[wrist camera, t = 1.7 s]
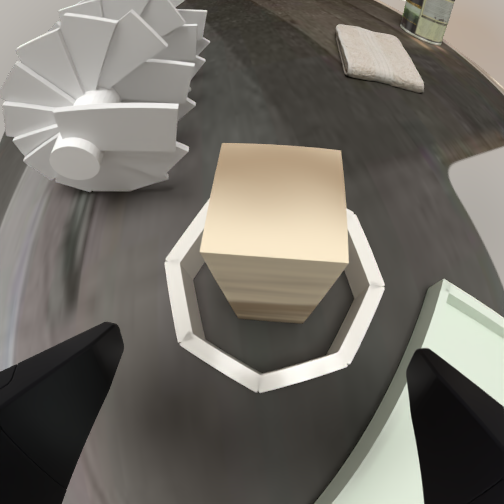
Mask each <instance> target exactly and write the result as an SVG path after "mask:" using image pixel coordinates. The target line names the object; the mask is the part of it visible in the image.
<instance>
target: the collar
mask: <svg viewBox="0 0 504 504" xmlns="http://www.w3.org/2000/svg"><path fill="white" fill-rule="evenodd" d="M209 201H210V199H209V200H208V201H207V203H206V204H205V205H204V207H203V208H202V209H201V211H200V212H199V213H198V215H197V216H196V217H195V219H194V220H193V221H192V223H191V224H190V226H189V227H188V228H187V230H186V231H185V232H184V234H183V235H182V237H181V238H180V239H179V241H178V242H177V244H176V245H175V246H174V248H173V249H172V251H171V252H170V253H169V255H168V256H167V258H166V259H165V260H166V261H167V262H165V270H166V277H167V283H168V290H169V296H170V302H171V308H172V314H173V319H174V325H175V330H176V335H177V340H178V343H180V346H182V347H183V348H185V349H186V350H188V351H189V352H191V353H192V354H194V355H195V356H197V357H198V358H200V359H201V360H203V361H205V362H206V363H208V364H209V365H211V366H212V367H214V368H216V369H217V370H219V371H220V372H222V373H224V374H225V375H227V376H229V377H230V378H232V379H234V380H235V381H237V382H239V383H240V384H242V385H244V386H245V387H247V388H249V389H251V390H252V391H254V392H257V391H258V390H259V393H262V392H266V391H270V390H274V389H278V388H281V387H285V386H289V385H292V384H296V383H299V382H302V381H306V380H309V379H312V378H315V377H319V376H322V375H325V374H328V373H331V372H334V371H337V370H340V369H342V368H345V367H348V365H350V364H351V362H352V360H353V358H354V356H355V354H356V352H357V350H358V348H359V346H360V344H361V342H362V339H363V337H364V335H365V333H366V331H367V329H368V327H369V324H370V322H371V320H372V318H373V315H374V313H375V311H376V309H377V306H378V304H379V301H380V299H381V297H382V294H383V292H384V289H385V288H384V286H385V284H384V281H383V279H382V276H381V274H380V271H379V268H378V266H377V263H376V261H375V258H374V256H373V253H372V251H371V248H370V246H369V244H368V241H367V239H366V237H365V234H364V232H363V230H362V227H361V225H360V223H359V221H358V218H357V216H356V214H355V215H353V213H354V212H352V211H350V210H348V209H346V212H347V229H348V254H349V263H348V265H347V266H346V268H345V269H344V271H345V274H346V277H347V279H348V282H349V285H350V288H351V291H352V294H353V296H354V300H353V303H352V305H351V307H350V309H349V311H348V313H347V315H346V317H345V319H344V321H343V323H342V325H341V327H340V329H339V331H338V333H337V335H336V337H335V339H334V341H333V343H332V345H331V347H330V349H329V350H328V352H327V354H326V355H324V356H321V357H318V358H315V359H312V360H308V361H305V362H302V363H298V364H295V365H291V366H288V367H284V368H281V369H277V370H273V371H269V372H266V373H260V372H258V371H257V370H255V369H253V368H251V367H250V366H248V365H246V364H245V363H243V362H241V361H239V360H238V359H236V358H234V357H233V356H231V355H229V354H228V353H226V352H224V351H223V350H221V349H220V348H218V347H216V346H215V345H213V344H212V343H210V342H208V341H207V340H205V336H204V331H203V326H202V322H201V317H200V312H199V307H198V302H197V297H196V292H195V287H194V282H193V279H194V277H195V276H196V274H197V273H198V271H199V270H200V268H201V267H202V265H203V264H204V263H205V261H204V259H203V257H202V255H201V254H200V247H201V242H202V236H203V231H204V226H205V221H206V216H207V211H208V206H209Z"/></svg>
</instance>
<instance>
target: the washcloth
mask: <svg viewBox="0 0 504 504" xmlns="http://www.w3.org/2000/svg"><path fill="white" fill-rule="evenodd" d="M336 32H337V33H336V34H337V35H336V41H337V45H338V49H339V53H340V56H341V60H342V64H343V69H344V73H345V75H348V76H350V77H353V78H359V79H363V80H368V81H377V82H380V83H384V84H389V85H391V86H393V87H399V88H402V89H406V90H409V91H413V92H417V93H421V92H424V85H423V84H424V82H423V80H422V79H421V77H420V75H419V72H418V71H417V69H416V68H415V66H414V64H413V62H412V60H411V58H410V57H409V55H408V54H407V52H406V51H405V49H404V48H403V46H402V44H401V43H400V41H399V39H398V38H396V37H395V36H392V35H389V34H383V33H377V32H372V31H369V30H366V29H363V28H360V27H356V26H348V25H342V24H339V25H337V27H336Z"/></svg>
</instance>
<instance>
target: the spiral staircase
mask: <svg viewBox="0 0 504 504" xmlns="http://www.w3.org/2000/svg"><path fill="white" fill-rule="evenodd" d="M183 1H185V0H82V1H80V2H78V3H77V4H76V5H73V6H70V7H67V8H63V9H61V10H59V11H58V13H59V17H60V21H61V22H59V21H58V22H57V23H56V24H55V25H54V26H53V27H52V28H51V29H50V30H49V31H48V32H47V33H46V34H44V35H41V36H39V37H37V38H35V39H33V40H31V41H29V42H27V43H25V44H23V45H21V46H19V47H18V48H17V49H16V53H17V55H18V57H19V59H20V61H21V62H20V61H17V62H16V64H15V65H14V67H13V68H12V70H11V71H10V73H9V75H8V77H7V78H6V80H5V82H4V84H3V85H2V87H1V89H0V98H1V99H3V100H5V102H4V104H3V115H4V123H5V131H6V136H11V137H14V139H13V142H14V143H15V145H16V146H17V147H18V148H19V150H20V151H21V152H22V153H23V155H24V156H25V158H24V160H23V161H24V162H25V163H26V164H28V165H29V166H31V167H32V168H33V169H35V170H36V171H38V172H39V173H41V174H42V175H43V176H45V177H46V178H48V179H49V180H53V179H54V178H56V181H55V182H57V183H60V184H64V185H67V186H71V187H74V188H77V189H81V190H84V191H88V192H91V191H132V190H135V189H138V188H141V187H145V186H148V185H151V184H154V183H158V182H161V181H165V180H168V177H169V174H168V173H167V172H168V171H169V170H170V169H171V168H172V167H173V166H174V165H175V164H176V163H177V162H178V161H179V160H180V159H181V158H182V157H183V156H184V155H186V154H187V153H188V151H189V147H188V146H186V145H184V144H182V143H179V142H177V141H176V137H177V122H178V121H179V120H180V119H181V118H182V117H183V116H184V115H185V114H187V113H188V112H189V111H190V110H191V109H192V108H194V107H195V105H196V102H194V101H193V100H191V99H189V98H188V97H187V94H188V92H190V91H191V88H190V87H189V86H190V82H191V79H192V78H193V76H194V75H195V74H196V73H197V71H198V70H199V69H200V67H201V66H202V65H203V64H204V62H205V59H204V58H201V57H199V56H198V55H199V54H200V53H201V51H202V50H203V49H204V48H205V47H206V46H207V45H208V44H209V43H210V41H209V40H207V39H205V38H204V37H203V32H204V26H205V20H206V14H207V10H188V9H176V8H175V7H176V6H178V5H179V4H181V3H182V2H183Z"/></svg>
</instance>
